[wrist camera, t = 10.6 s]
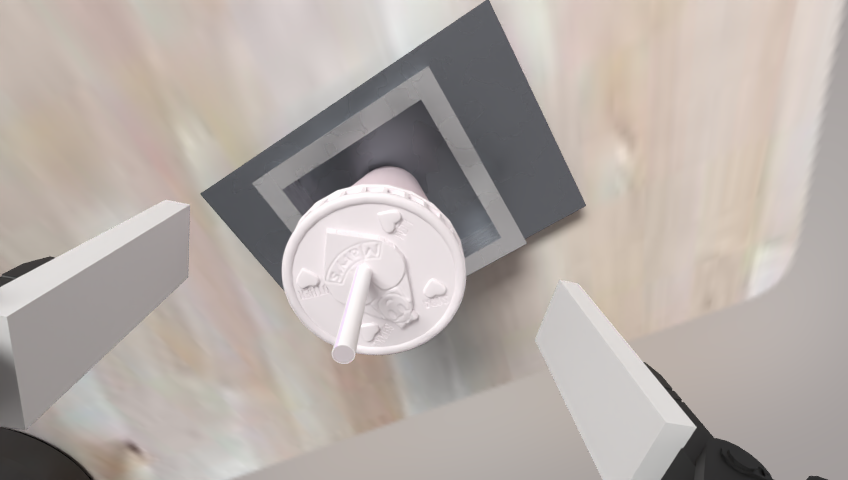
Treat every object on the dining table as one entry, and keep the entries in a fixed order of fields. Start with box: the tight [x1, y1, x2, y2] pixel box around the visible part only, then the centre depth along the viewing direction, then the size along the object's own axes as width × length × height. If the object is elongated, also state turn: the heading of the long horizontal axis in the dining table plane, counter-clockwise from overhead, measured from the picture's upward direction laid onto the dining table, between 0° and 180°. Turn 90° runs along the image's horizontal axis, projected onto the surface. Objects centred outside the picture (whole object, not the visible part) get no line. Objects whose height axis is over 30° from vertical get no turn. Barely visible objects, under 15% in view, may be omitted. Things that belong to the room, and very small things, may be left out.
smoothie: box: [282, 166, 466, 364], centre depth 16 cm, size 6×6×14 cm
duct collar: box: [201, 0, 586, 290], centre depth 22 cm, size 18×12×4 cm, turn 121°
